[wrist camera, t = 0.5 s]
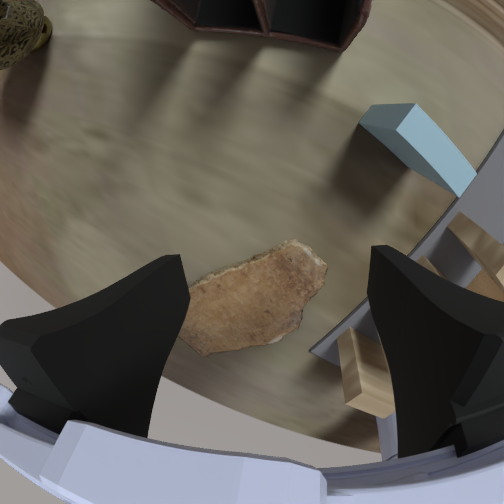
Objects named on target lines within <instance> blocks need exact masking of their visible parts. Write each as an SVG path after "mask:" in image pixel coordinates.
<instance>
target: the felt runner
mask: <svg viewBox="0 0 504 504" xmlns="http://www.w3.org/2000/svg"><path fill="white" fill-rule="evenodd" d="M476 173H477V175H476V176H475V178H474V179H473V180H472V182H471V183H470V184H469V186H468V187H467V188H466V190H465V191H464V192H463V194H462V195H461V196H460V198H459V197H457V198H456V199H455V200H454V202H453V203H452V204H451V205H450V207H449V208H448V209H447V210H446V212H445V213H444V214H443V215H442V216H441V218H440V219H439V220H438V221H437V223H436V224H435V225H434V226H433V227H432V228H431V230H430V231H429V232H428V233H427V234H426V235H425V237H424V238H423V239H422V240H421V241H420V242H419V243H418V245H417V246H416V247H415V248H414V249H413V250H412V251H411V252H410V253H409V255H408V256H407V257H409V258H410V259H412V260H414V261H415V262H416V261H417V260H418V259H419V258H420V257H421V255H422V254H423V255H424V256H425V257H426V258H427V259H428V260H429V261H430V262H431V263H432V264H433V265H434V266H435V267H436V268H437V269H438V270H439V271H440V272H441V273H442V274H443V275H444V276H445V277H446V278H447V279H448V280H449V281H450V282H452V283H454V284H456V285H458V286H461V287H463V288H465V287H466V286H467V285H468V284H469V283H470V282H471V281H472V280H473V279H474V277H475V276H476V275H477V274H478V273H479V272H480V271H481V270H482V267H481V266H480V265H479V264H478V263H477V262H476V261H475V260H474V259H473V257H472V256H471V255H470V254H469V252H468V251H467V250H466V249H465V247H464V246H463V245H462V244H461V242H460V241H459V240H458V239H457V238H456V236H455V235H454V234H453V233H452V232H451V231H450V230H449V228H448V227H447V225H448V224H449V223H450V222H451V221H452V219H453V218H454V217H455V216H456V214H457V213H458V212H459V211H460V212H462V213H463V214H464V215H466V216H467V217H468V218H470V219H471V220H472V221H473V222H475V223H476V224H477V225H478V226H480V227H481V228H482V229H483V230H485V231H486V232H487V233H488V234H490V235H491V236H492V237H493V238H494V239H496V240H497V241H498V242H499V243H500V244H501V245H502V244H503V243H504V130H503V132H502V133H501V135H500V137H499V138H498V140H497V141H496V143H495V144H494V146H493V147H492V149H491V150H490V152H489V153H488V155H487V156H486V158H485V159H484V161H483V162H482V164H481V165H480V167H479V168H478V169H477V171H476ZM349 327H351V328H353V329H354V330H356V331H358V332H359V333H361V334H363V335H364V336H366V337H367V338H369V339H371V340H372V341H374V342H375V343H377V344H379V345H380V346H381V343H380V339H379V336H378V333H377V329H376V326H375V323H374V320H373V317H372V314H371V310H370V305H369V300H368V297H367V298H366V299H365V300H364V301H363V302H362V303H361V304H360V305H359V306H358V307H357V308H355V309H354V310H353V311H352V312H351V313H350V314H349V315H348V316H347V317H346V318H345V319H344V320H343V321H341V322H340V323H339V324H338V325H337V326H336V327H335V328H334V329H333V330H331V331H330V332H329V333H328V334H327V335H326V336H325V337H324V338H322V339H321V340H320V341H319V342H318V343H317V344H315V345H314V346H313V347H312V348H311V349H310V352H312V353H314V354H315V355H317V356H319V357H321V358H323V359H325V360H327V361H329V362H331V363H333V364H335V365H336V366H338V367H340V368H341V364H340V357H339V349H338V343H337V337H338V336H339V335H341V334H342V333H343V332H344V331H345V330H346V329H347V328H349Z"/></svg>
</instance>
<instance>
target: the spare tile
mask: <svg viewBox="0 0 504 504" xmlns="http://www.w3.org/2000/svg"><path fill="white" fill-rule="evenodd" d="M359 124H360V125H362V126H363V127H364V128H365V129H366V130H368V131H369V132H370V133H371V134H372V135H373V136H375V137H376V138H377V139H378V140H379V141H380V142H381V143H383V144H384V145H385V146H386V147H387V148H388V149H389V150H390V151H391V152H392V153H394V154H395V155H396V156H397V157H398V158H399V159H400V160H401V161H402V162H403V163H404V164H405V165H406V166H407V167H408V168H410V169H412V170H414V171H416V172H417V173H419V174H421V175H423V176H424V177H426V178H428V179H430V180H431V181H433V182H435V183H436V184H438V185H440V186H441V187H443V188H445V189H446V190H448V191H449V192H451V193H453V194H454V195H456V196H457V197H459V198H460V196H461V195H462V194H463V192H464V191H465V190H466V188H467V187H468V186H469V184H470V183H471V182H472V180H473V179H474V178H475V176H476V175H477V173H476V171H475V170H474V169H473V167H472V166H471V165H470V164H469V162H468V161H467V160H466V158H465V157H464V156H463V155H462V153H461V152H460V151H459V150H458V149H457V147H456V146H455V145H454V144H453V143H452V141H451V140H450V139H449V138H448V137H447V136H446V135H445V133H444V132H443V131H442V130H441V129H440V128H439V127H438V126H437V125H436V124H435V123H434V121H433V120H432V119H431V118H430V117H429V116H428V115H427V114H426V113H425V112H424V111H423V110H422V109H421V108H420V107H419V106H418V105H417V104H380V105H372V106H371V107H370V108H369V110H368V111H367V112H366V114H365V115H364V116H363V117H362V119H361V120H360V121H359Z"/></svg>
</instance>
